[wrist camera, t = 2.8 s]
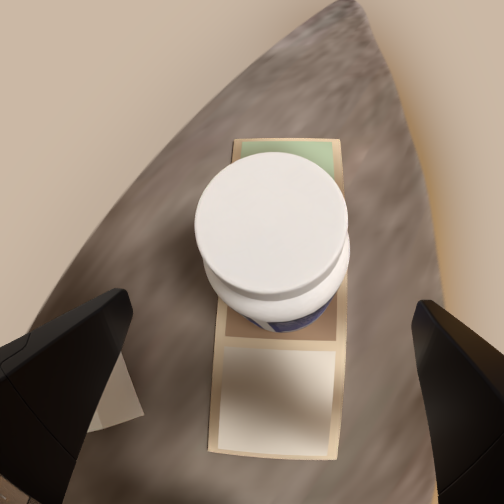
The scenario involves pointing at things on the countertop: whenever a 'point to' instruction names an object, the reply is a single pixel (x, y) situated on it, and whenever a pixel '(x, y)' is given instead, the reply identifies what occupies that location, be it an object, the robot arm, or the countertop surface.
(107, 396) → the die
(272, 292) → the pill bottle
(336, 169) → the game board
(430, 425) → the robot arm
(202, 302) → the countertop surface
